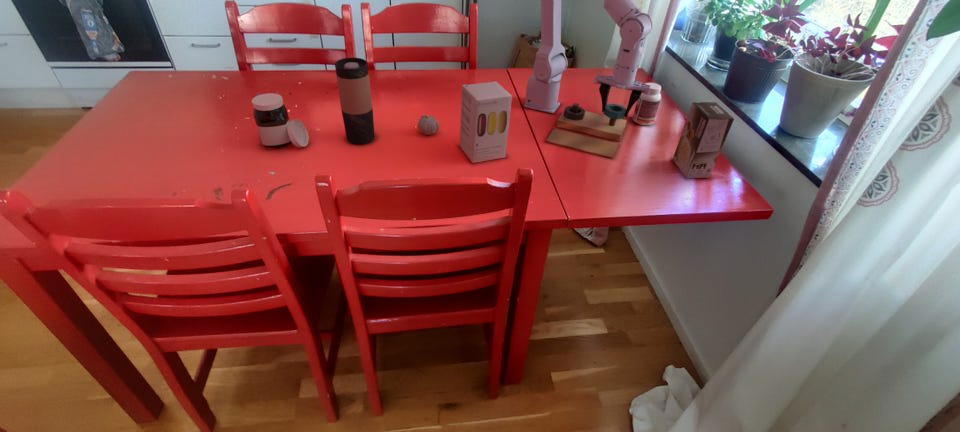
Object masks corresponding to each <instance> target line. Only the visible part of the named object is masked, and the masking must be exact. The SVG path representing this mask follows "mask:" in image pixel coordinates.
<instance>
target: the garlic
mask: <svg viewBox="0 0 960 432" xmlns="http://www.w3.org/2000/svg"><path fill="white" fill-rule="evenodd" d="M417 129H418V130H419V131H420V133H421V134H423V135H427V136H430V135H433V134H436V133H438V131H439V129H440V124H439V121H438V120H437V118H435V117H434V116H431V115H428V114H423V115H420V117H419V119H418V122H417Z"/></svg>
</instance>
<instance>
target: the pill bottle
mask: <svg viewBox="0 0 960 432" xmlns="http://www.w3.org/2000/svg"><path fill="white" fill-rule="evenodd" d="M644 84H647V85H651V88H650V91H649V94H648V95H645V94H644V93H641V96H640V98H639V99H638V100H637V101H636V102H635V107H634V111H633V114H632V121H633V122H634V123H636V124H637V125H640V126H641V125H642V126H651V125H653V124H654V123H655V119H656V116H657V112H658V109H659V106H660V103H661V100H662V95H661V90H662V86H661V84H659V83H656V82H645V83H644Z"/></svg>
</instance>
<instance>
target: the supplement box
mask: <svg viewBox="0 0 960 432" xmlns="http://www.w3.org/2000/svg"><path fill="white" fill-rule="evenodd" d="M512 99H513V95H512V94H510V92H509V91H508V90H507V89H506V88H504V87H503V86H502V85H501V84H500V83H499V82H498V81H496V80H494V81H488V82H487V81H486V82H478V83H471V84H470V83H469V84H461V101H460V126H459V127H460V128H459V147H460V149H461V150H462V151H463V153H464V154H465V155H466V157H467V158H468V159H469V160H470V162H471V163H472V164H476V163H481V162H486V161H493V160H498V159H504V158H506V155H507V146H508V138H509V137H508V135H509V129H510V128H509V126H510V118H511V108H512Z"/></svg>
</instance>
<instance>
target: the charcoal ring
mask: <svg viewBox="0 0 960 432" xmlns="http://www.w3.org/2000/svg"><path fill="white" fill-rule="evenodd" d="M572 106H573V105H567V106H565V108H564V110H563V111H564V116H565V117H566V118H567V119H571V120H575V121H576V120H582V119H583V118H584V115H585V111H586V110H585V109H584V108H583V107H582V106H579V109H578V113H574V112H571V111H572Z"/></svg>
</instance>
